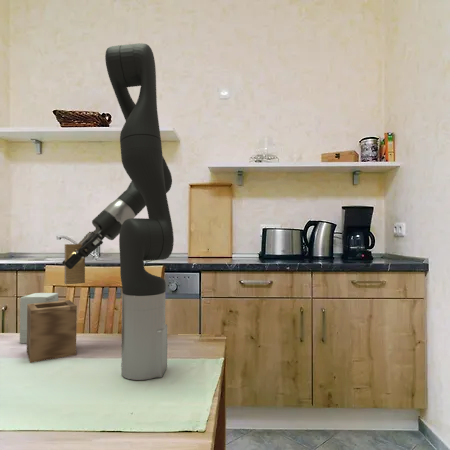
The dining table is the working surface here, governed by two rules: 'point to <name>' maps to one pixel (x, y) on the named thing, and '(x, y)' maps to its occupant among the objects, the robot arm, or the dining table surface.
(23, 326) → the supplement box
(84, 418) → the dining table surface
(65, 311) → the brown wooden bin
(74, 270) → the gold rectangular block
